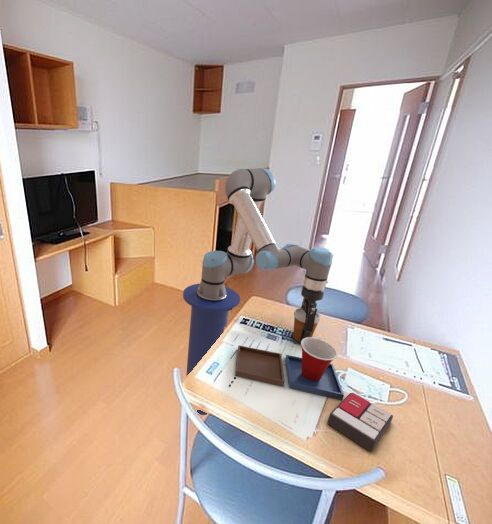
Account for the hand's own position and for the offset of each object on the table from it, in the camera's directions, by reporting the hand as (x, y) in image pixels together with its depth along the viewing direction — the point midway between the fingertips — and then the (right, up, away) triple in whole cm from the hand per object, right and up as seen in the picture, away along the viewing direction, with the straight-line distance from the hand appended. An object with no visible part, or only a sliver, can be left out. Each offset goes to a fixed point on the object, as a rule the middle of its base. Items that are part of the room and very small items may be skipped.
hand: (301, 337), depth 125 cm
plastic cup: (-8, -8, -21) cm, 24 cm away
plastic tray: (-8, -9, -21) cm, 24 cm away
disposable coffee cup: (0, -1, 0) cm, 1 cm away
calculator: (-4, -16, -38) cm, 41 cm away
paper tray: (-24, -7, -16) cm, 29 cm away
